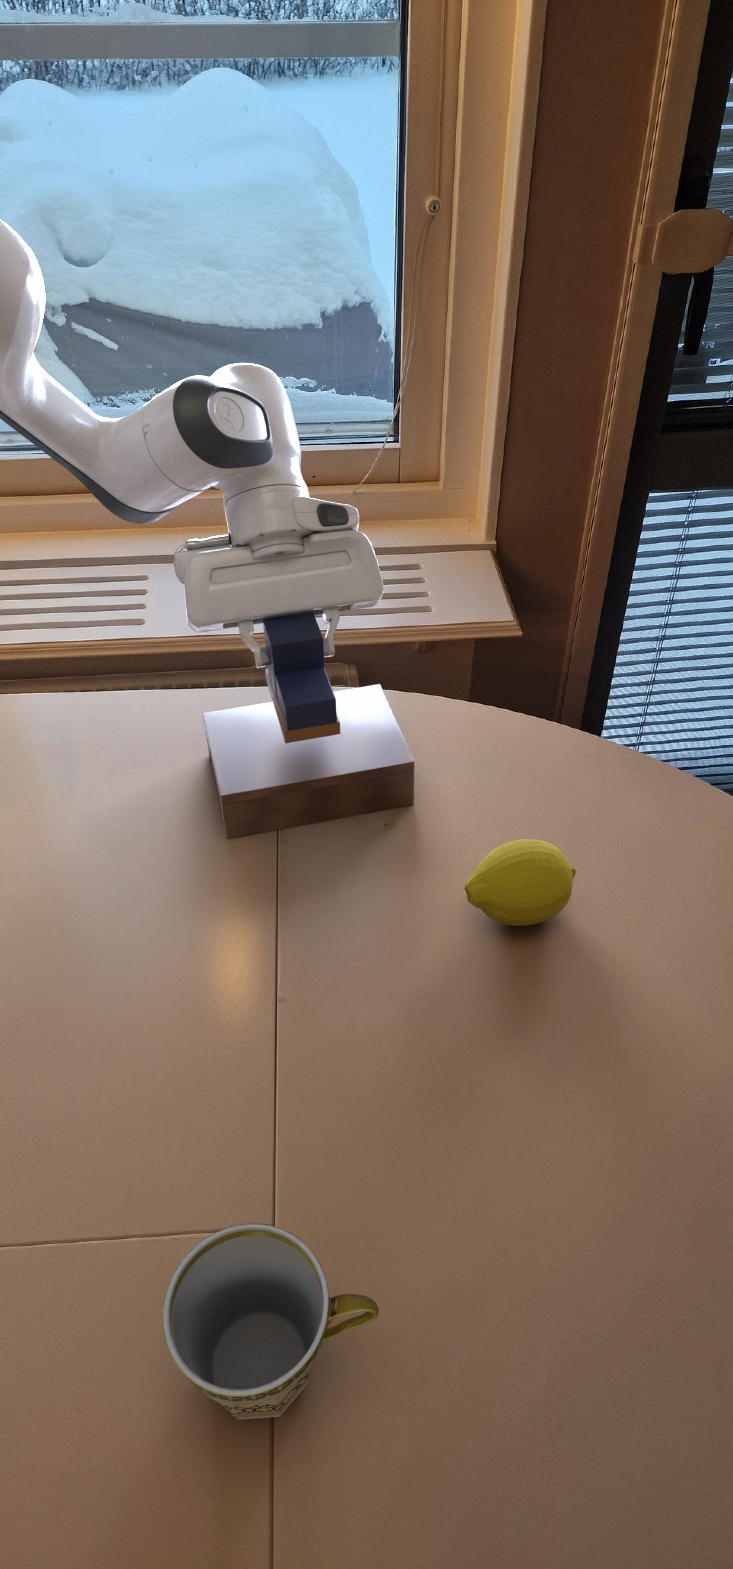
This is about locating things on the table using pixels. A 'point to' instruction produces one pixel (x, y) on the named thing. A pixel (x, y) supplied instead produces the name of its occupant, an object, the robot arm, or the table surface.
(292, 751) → the shoe shelf
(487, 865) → the lemon
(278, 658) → the trainer
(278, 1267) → the ceramic cup
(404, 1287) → the table surface
